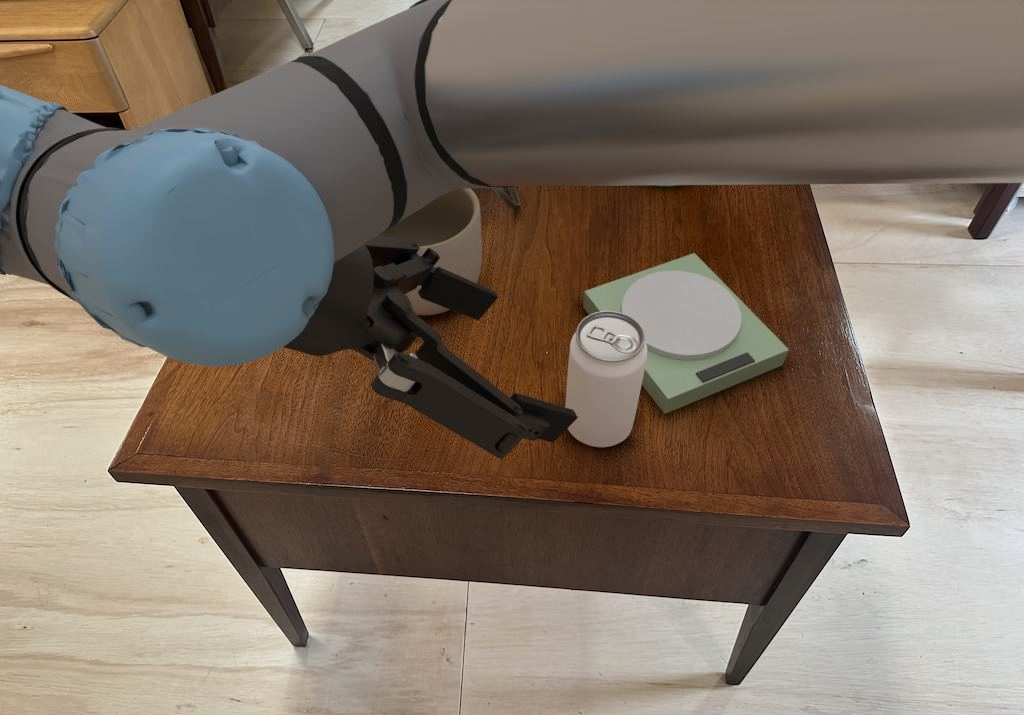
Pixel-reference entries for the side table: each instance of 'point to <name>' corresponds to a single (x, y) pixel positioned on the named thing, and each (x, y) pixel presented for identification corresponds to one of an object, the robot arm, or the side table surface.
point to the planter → (445, 239)
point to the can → (605, 377)
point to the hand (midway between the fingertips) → (522, 361)
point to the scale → (690, 330)
